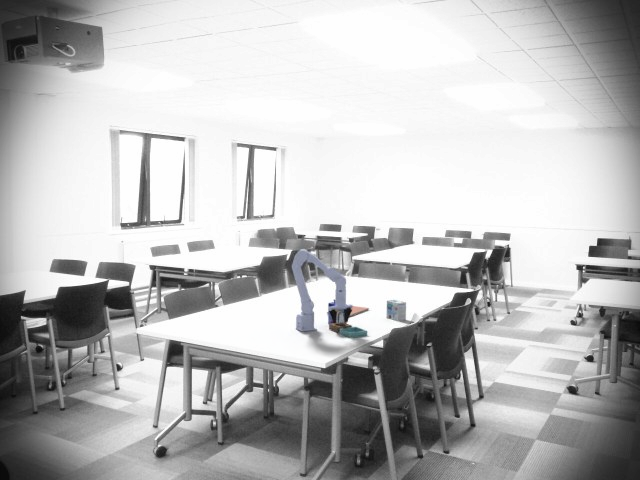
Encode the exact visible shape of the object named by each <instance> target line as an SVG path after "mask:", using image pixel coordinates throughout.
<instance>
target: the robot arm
mask: <svg viewBox="0 0 640 480" xmlns="http://www.w3.org/2000/svg"><path fill="white" fill-rule="evenodd" d="M305 262H307V263H312V264H314V265H315V266H316V267H317V268H319V269H321V270H322V271H323V273H324V276H325V277H326V278H328V279H329V280H330V281H331V282H333V283H335V299H334V300H335V306H331V307H327V311H328V310H329V313H330V315H331V317H332V321H333V323H334V324H336V316H337V312H336V311H335V310H341V309H344V314H345V322H347V323H348V322H349V319H350V317H351V316H350V314H351V312H352V309H353V306H354V305H353V304H347V289H346V288H347V286H346V285H347V279H346V277H345V275H343V274H342V273H339V272H338V271H337V270H336V269H335V267H334V266H333V267H332V266H327V265H326V264H325V263H324V262H323V261H322V260H320V258H318V257H317V256H316V255H315V254H314V253H312V252H310V251H309V250H308V249H306V248H302V249H299V250H298V251H297V253H296V254H295V255H294V257H293V261H292V264H291V270H292V273H293V274H292V275H293V276H294V277H293V278H294V279H295V283H296V288H297V290H298V294H299V296H300V297H299V298H300V304H301V307H300V308H301V312H300V313H299V314H296V318H295V322H296V323H295V325H296V327H295V329H296V330H298V331H300V332H311V331H317V330H318V329H317V328H316V327H315V311H314V307H315V303H314V302H313V301H312V299H311V297H310V293H309V291H308V288H307V284H306V281H305V277H304V274H303V270H302V266H303V264H304V263H305ZM346 304H347V305H346ZM349 316H350V317H349Z"/></svg>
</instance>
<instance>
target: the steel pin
mask: <svg viewBox="0 0 640 480" xmlns="http://www.w3.org/2000/svg"><path fill="white" fill-rule="evenodd" d="M337 326H344V312H342V311H339V312H337Z"/></svg>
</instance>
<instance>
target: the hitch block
mask: <svg viewBox="0 0 640 480" xmlns="http://www.w3.org/2000/svg"><path fill="white" fill-rule="evenodd" d="M350 327H353V326H352V325H351V324H349V323H347V324H346V323H344V326H337V323H336V324H334V323H333V324H328V329H329V330H330V331H333V332H335V333H336V334H340V329H342V328H350Z"/></svg>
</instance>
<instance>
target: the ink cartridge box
mask: <svg viewBox="0 0 640 480" xmlns="http://www.w3.org/2000/svg"><path fill="white" fill-rule="evenodd" d="M327 304H328V305H327V306H328V307H331V306H335V299H333V301H332V302H328V303H327ZM346 305H348V304H347V303H346ZM328 307H327V308H328ZM335 311H336V312H339V311H342V312H344V309H341V310H335ZM327 312H328V314H327V315H328V316H327V317H328V318H327V319H328V320H327V321H328V323H327V324H328V325H329V324H333V321H332V317H331V315H330V313H329V310H328V309H327ZM336 323H337V316H336ZM344 323H346V324H348V322H345V314H344Z"/></svg>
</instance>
